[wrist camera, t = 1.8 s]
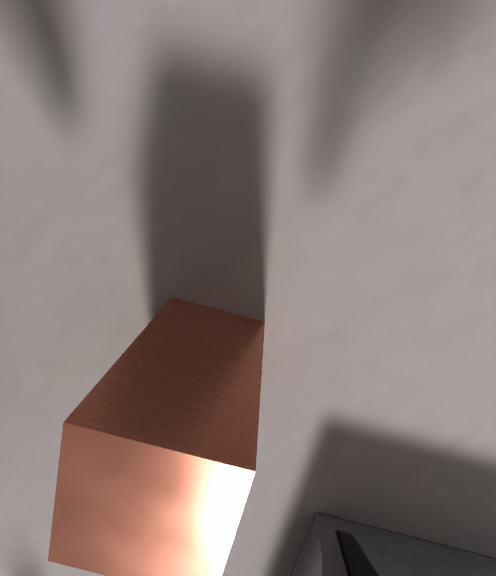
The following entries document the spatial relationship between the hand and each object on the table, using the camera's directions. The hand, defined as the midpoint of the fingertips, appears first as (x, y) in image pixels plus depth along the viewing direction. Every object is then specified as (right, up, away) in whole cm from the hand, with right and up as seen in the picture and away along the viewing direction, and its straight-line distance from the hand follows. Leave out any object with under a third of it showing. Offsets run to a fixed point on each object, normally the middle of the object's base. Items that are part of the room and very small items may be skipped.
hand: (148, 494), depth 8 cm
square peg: (+1, +2, +7) cm, 7 cm away
